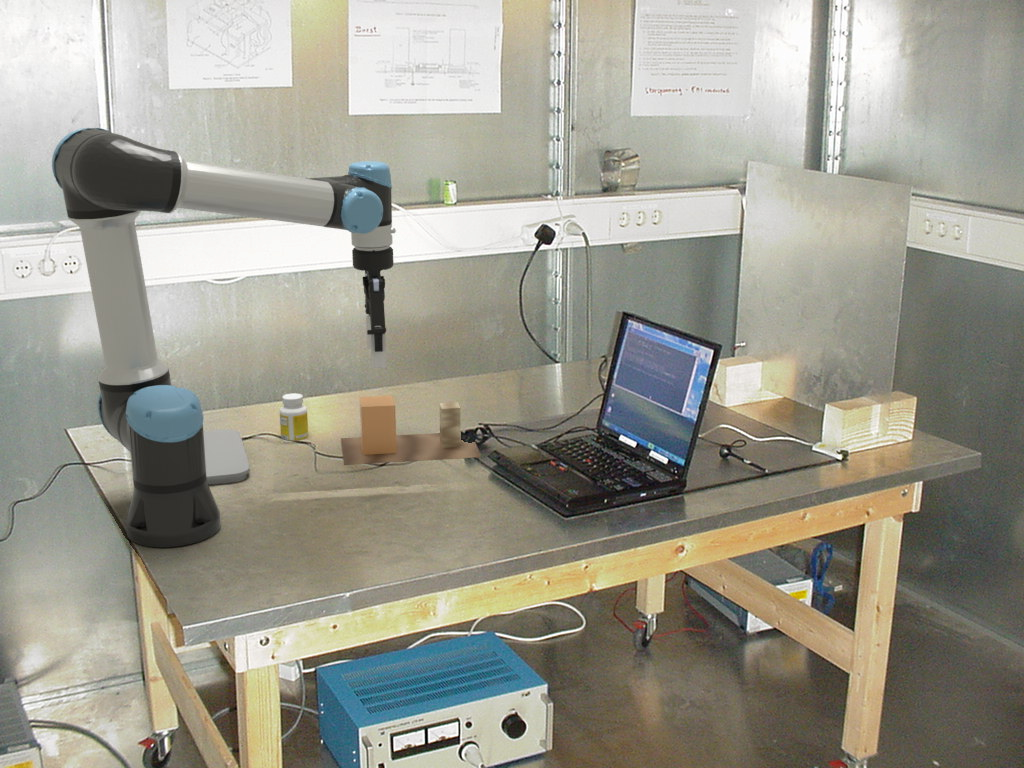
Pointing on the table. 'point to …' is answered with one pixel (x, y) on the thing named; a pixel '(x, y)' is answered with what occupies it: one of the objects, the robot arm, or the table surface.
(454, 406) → the birch post
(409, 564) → the table surface
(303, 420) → the supplement bottle
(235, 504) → the table surface
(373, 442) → the upright tan block
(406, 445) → the walnut board
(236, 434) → the tablet
